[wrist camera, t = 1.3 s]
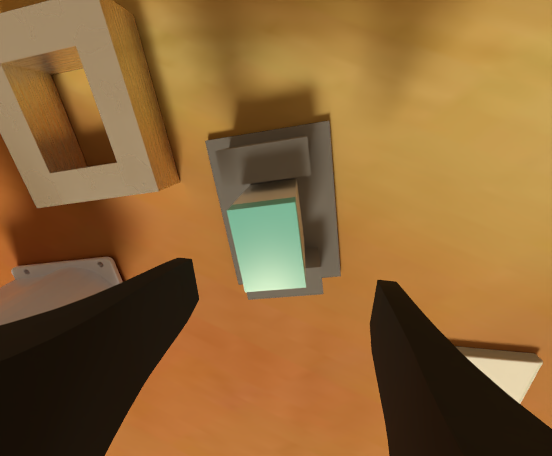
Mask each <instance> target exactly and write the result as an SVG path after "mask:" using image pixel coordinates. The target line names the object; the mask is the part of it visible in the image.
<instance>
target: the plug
mask: <svg viewBox="0 0 552 456" xmlns="http://www.w3.org/2000/svg"><path fill="white" fill-rule="evenodd" d="M227 214H228V219H229V223H230V228H231V232H232V236H233V241H234V245H235V250H236V254H237V259H238V263H239V267H240V272H241V276H242V281H243V285H244V290H245V292H256V291H268V290H281V289H294V288H306V272H305V247H304V235H303V226H302V218H301V210H300V202H299V194H298V185H297V179H291V180H284V181H276V182H269V183H262V184H254V185H250V186H249V187H248V188H247V189H246V190H245V191H244V192H243V193H242V194H241V196H240V197H239V198H238V199H237V200H236V201H235V202H234V203H233V204H232V205H231V206H230V208H229V209H228V210H227Z"/></svg>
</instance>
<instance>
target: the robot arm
mask: <svg viewBox="0 0 552 456" xmlns="http://www.w3.org/2000/svg"><path fill="white" fill-rule="evenodd" d="M101 262H102V263H103V264H102V263H101ZM12 274H13V276H14V278H15V280H14V281H12V282H10V283H8V284H6V285H4V286H2V287H0V456H105V454H106V452H107V450H108V448H109V446H110V444H111V442H112V440H113V438H114V437H115V435H116V433H117V431H118V429H119V427H120V426H121V424H122V422H123V420H124V418H125V416H126V415H127V413H128V411H129V409H130V407H131V406H132V404H133V402H134V401H135V399H136V397H137V395H138V394H139V392H140V390H141V388H142V387H143V385H144V383H145V382H146V380H147V379H148V377H149V376H150V374H151V373H152V371H153V370H154V368H155V367H156V365H157V364H158V363H159V361H160V360H161V358H162V357H163V356H164V354H165V353H166V351H167V350H168V349H169V347H170V346H171V344H172V343H173V342H174V340H175V339H176V337H177V336H178V334H179V333H180V332H181V330H182V329H183V327H184V326H185V324H186V323H187V321H188V320H189V318H190V316H191V314H192V312H193V310H194V308H195V306H196V304H197V302H198V300H199V295H198V290H197V284H196V279H195V273H194V268H193V262H192V259H186V258H176V259H173V260H171V261H168V262H166V263H164V264H161V265H159V266H157V267H155V268H153V269H150V270H148V271H146V272H144V273H142V274H140V275H137V276H135V277H133V278H131V279H129V280H127V281H124V282H123V281H122V279H121V276H120V274H119V272H118V269H117V267H116V264H115V262H114V260H113V259H112V258H110V257H99V258H89V259H80V260H70V261H61V262H51V263H42V264H32V265H23V266H17V267H14V268H13V269H12ZM370 333H371V347H372V355H373V361H374V366H375V372H376V377H377V382H378V387H379V393H380V398H381V403H382V408H383V413H384V419H385V424H386V431H387V437H388V446H389V456H552V429H551V428H550V427H549V426H547V425H546V424H545V423H543V422H542V421H541V420H540V419H538V418H537V417H536V416H534V415H533V414H532V413H531V412H529V411H528V410H527V409H526V408H524V407H523V406H522V405H521V404H519V403H518V402H517V401H516V400H514V399H513V398H512V397H511V396H510V395H508V394H507V393H506V392H505V391H504V390H502V389H501V388H500V387H499V386H498V385H497V384H496V383H494V382H493V381H492V380H491V379H490V378H489V377H488V376H486V375H485V374H484V373H483V372H482V371H481V370H479V369H478V368H477V367H476V366H475V365H474V364H473V363H472V362H471V361H470V360H469V359H467V358H466V357H465V356H464V355H463V354H462V353H461V352H460V351H459V350H458V349H457V348H456V347H455V346H454V345H453V344H452V343H451V342H450V341H449V340H448V339H447V338H446V337H445V336H444V335H443V334H442V333H441V332H440V331H439V330H438V329H437V328H436V327H435V325H434V324H433V323H432V322H431V321H430V320H429V319H428V318H427V317H426V316H425V314H424V313H423V312H422V311H421V310H420V309H419V308H418V306H417V305H416V304H415V303H414V302H413V301H412V300H411V298H410V297H409V296H408V295H407V294H406V292H405V291H404V290H403V289H402V288H401V287H400V285H399V284H398V283H397V282H394V281H385V280H377V286H376V292H375V298H374V303H373V309H372V315H371V321H370Z"/></svg>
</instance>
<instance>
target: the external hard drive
mask: <svg viewBox="0 0 552 456" xmlns="http://www.w3.org/2000/svg"><path fill="white" fill-rule="evenodd" d="M455 347H456V348H457V349H458V350H459V351H460V352H461V353H462V354H463V355H464V356H465V357H466V358H467V359H469V360H470V361H471V362H472V363H473V364H474V365H475V366H476V367H477V368H478V369H479V370H481V371H482V372H483V373H484V374H485V375H486V376H488V377H489V378H490V379H491V380H492V381H493V382H494V383H496V384H497V385H498V386H499V387H500V388H501V389H502V390H504V391H505V392H506V393H507V394H508V395H510V396H511V397H512V398H513V399H514V400H516V401H517V402H518V403H519V404H520V403H521V402H522V400H523V398H524V396H525V394H526V393H527V391H528V389H529V387H530V385H531V383H532V382H533V380H534V378H535V376H536V374H537V372H538V370H539V369H540V367H541V365H542V364H543V361H542V359H540V358H539V357H538V356H537V355H536V354H535V353H525V352H514V351H502V350H491V349H480V348H469V347H457V346H455Z"/></svg>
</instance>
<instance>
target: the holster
mask: <svg viewBox="0 0 552 456" xmlns="http://www.w3.org/2000/svg"><path fill="white" fill-rule="evenodd" d="M205 142H206V147H207V151H208V155H209V159H210V164H211V168H212V172H213V177H214V181H215V185H216V189H217V194H218V198H219V202H220V207H221V211H222V215H223V220H224V224H225V228H226V232H227V237H228V241H229V245H230V250H231V254H232V258H233V262H234V267H235V271H236V275H237V280H238V284H239V285H241V284H243V281H242V276H241V272H240V267H239V263H238V259H237V254H236V250H235V245H234V241H233V236H232V232H231V228H230V223H229V219H228V214H227V210H228V209H229V208H230V206H231V205H232V204H233V203H234V202H235V201H236V200H237V199H238V198H239V197H240V196H241V194H242V193H243V192H244V191H245V190H246V189H247V188H248V187H249V186H250V185H254V184H262V183H269V182H276V181H284V180H291V179H297V185H298V194H299V202H300V210H301V218H302V226H303V235H304V247H305V272H306V288H294V289H281V290H268V291H256V292H247V296H248V300H250V299H264V298H277V297H291V296H304V295H318V294H323V286H322V278H325V277H337V276H341V274H340V260H339V246H338V233H337V219H336V205H335V191H334V178H333V164H332V150H331V137H330V123H329V121H324V122H317V123H311V124H305V125H299V126H293V127H287V128H281V129H275V130H268V131H262V132H256V133H250V134H244V135H238V136H232V137H226V138H220V139H213V140H207V141H205Z"/></svg>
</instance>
